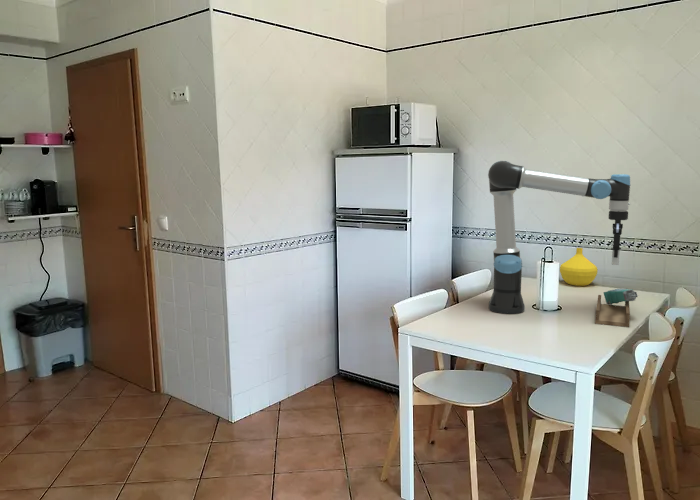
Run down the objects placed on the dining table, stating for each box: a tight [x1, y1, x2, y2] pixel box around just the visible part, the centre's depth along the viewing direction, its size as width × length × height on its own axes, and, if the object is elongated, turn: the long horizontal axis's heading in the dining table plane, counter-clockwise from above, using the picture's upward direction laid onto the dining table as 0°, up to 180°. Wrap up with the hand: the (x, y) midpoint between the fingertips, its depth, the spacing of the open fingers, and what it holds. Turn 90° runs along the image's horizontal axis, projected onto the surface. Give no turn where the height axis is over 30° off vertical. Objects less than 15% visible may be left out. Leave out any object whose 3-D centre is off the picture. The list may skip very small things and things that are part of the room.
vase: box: [559, 247, 599, 287], centre depth 287 cm, size 18×18×19 cm
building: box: [603, 288, 640, 305], centre depth 229 cm, size 6×6×30 cm
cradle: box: [594, 294, 631, 328], centre depth 228 cm, size 12×28×6 cm, turn 154°
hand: (615, 264), depth 239 cm, fingers closed
